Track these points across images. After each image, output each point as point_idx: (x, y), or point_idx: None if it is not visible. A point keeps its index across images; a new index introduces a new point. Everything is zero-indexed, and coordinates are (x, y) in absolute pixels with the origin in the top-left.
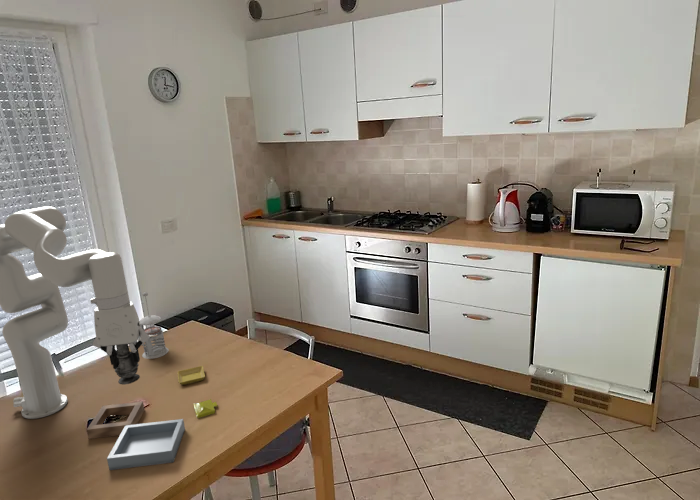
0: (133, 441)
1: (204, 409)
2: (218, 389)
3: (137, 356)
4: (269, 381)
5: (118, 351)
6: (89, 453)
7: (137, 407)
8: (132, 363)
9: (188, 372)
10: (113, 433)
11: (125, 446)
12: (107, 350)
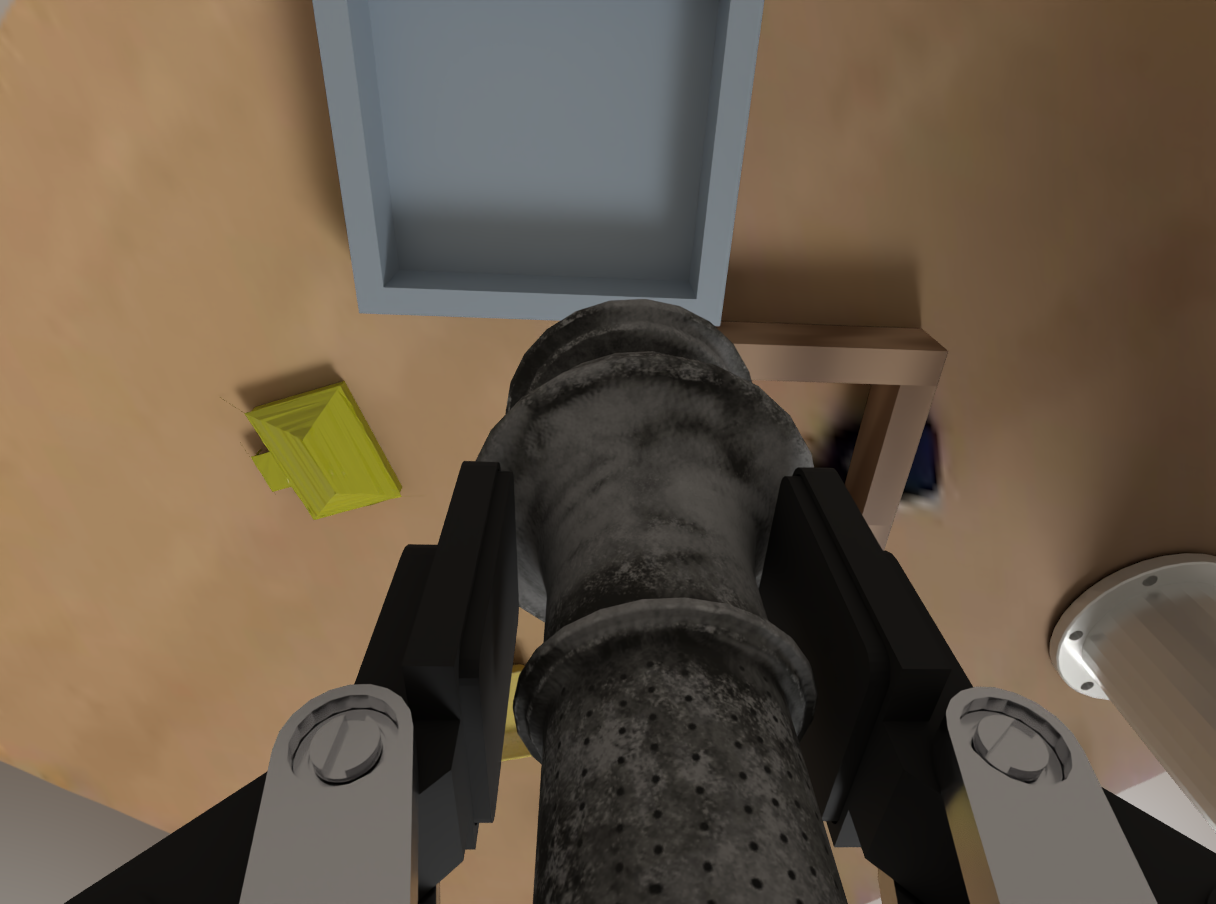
0: (655, 216)
1: (301, 425)
2: (319, 599)
3: (385, 628)
4: (59, 611)
5: (771, 765)
6: (901, 182)
7: None
8: (487, 494)
9: (514, 739)
10: (789, 329)
11: (693, 175)
12: (1099, 829)
